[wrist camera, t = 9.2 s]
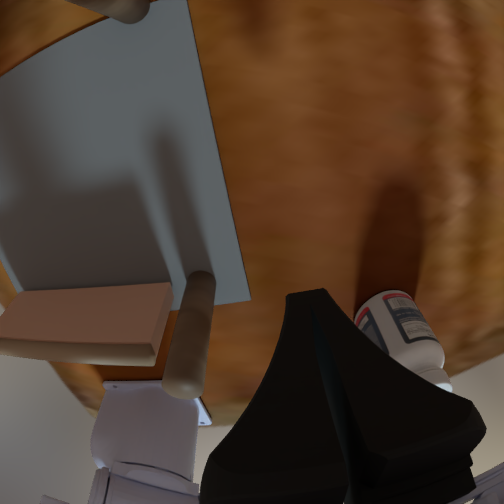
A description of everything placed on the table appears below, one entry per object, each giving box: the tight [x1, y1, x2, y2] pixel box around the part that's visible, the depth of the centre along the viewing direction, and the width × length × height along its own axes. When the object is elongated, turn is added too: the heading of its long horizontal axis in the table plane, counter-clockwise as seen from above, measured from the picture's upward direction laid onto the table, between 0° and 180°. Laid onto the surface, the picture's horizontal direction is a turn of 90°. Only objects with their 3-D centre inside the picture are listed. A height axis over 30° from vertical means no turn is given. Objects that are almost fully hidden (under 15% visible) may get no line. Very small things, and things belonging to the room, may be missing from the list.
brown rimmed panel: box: [0, 282, 174, 366], centre depth 18 cm, size 14×1×7 cm, turn 96°
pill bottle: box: [354, 290, 452, 392], centre depth 20 cm, size 5×5×9 cm
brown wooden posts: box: [65, 0, 217, 400], centre depth 13 cm, size 2×20×9 cm, turn 10°
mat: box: [0, 0, 251, 311], centre depth 18 cm, size 20×20×1 cm
